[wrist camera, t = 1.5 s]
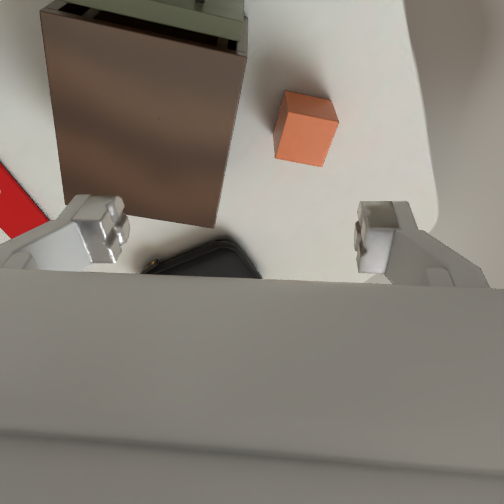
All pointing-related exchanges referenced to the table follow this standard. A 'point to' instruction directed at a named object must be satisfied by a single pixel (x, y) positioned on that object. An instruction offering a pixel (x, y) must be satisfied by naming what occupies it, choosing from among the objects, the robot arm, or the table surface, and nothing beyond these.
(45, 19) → the cabinet
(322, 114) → the block
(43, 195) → the table surface
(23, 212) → the electronic device
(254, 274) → the carrying case
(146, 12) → the drawer
